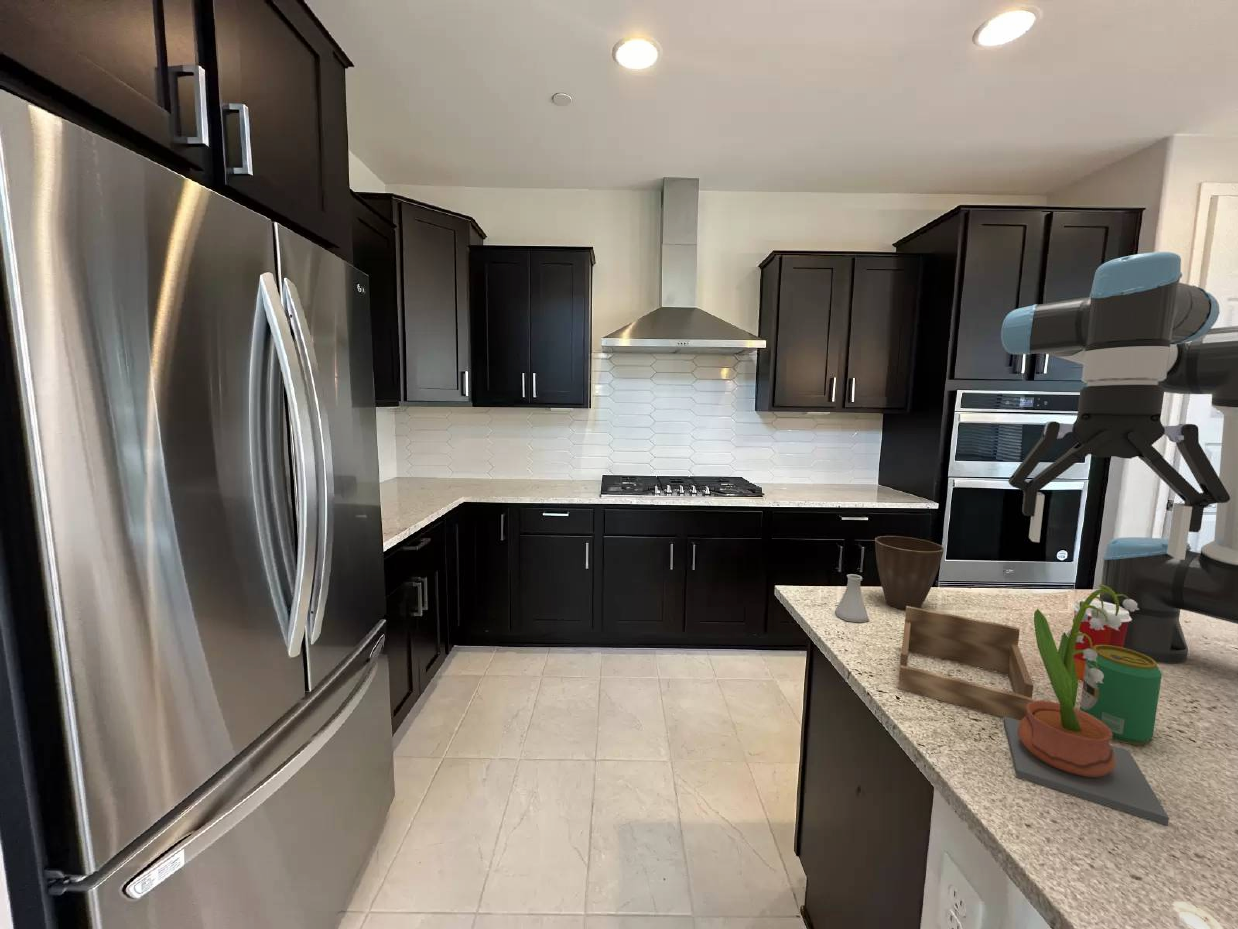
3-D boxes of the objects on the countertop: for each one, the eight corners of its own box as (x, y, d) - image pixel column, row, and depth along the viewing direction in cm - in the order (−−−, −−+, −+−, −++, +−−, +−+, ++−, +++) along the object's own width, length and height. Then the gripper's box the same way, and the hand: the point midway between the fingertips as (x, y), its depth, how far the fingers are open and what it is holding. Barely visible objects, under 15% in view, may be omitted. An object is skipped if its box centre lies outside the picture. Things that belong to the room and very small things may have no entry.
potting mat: (1127, 756, 70) (1128, 750, 70) (1167, 825, 58) (1168, 818, 58) (1003, 722, 77) (1003, 716, 77) (1016, 777, 65) (1017, 770, 65)
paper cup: (1106, 672, 93) (1115, 601, 91) (1133, 694, 85) (1143, 617, 84) (1055, 665, 95) (1063, 595, 94) (1077, 685, 88) (1086, 610, 86)
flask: (829, 611, 120) (831, 571, 118) (857, 610, 120) (860, 571, 119) (844, 623, 112) (848, 581, 111) (875, 623, 113) (878, 581, 112)
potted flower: (1080, 735, 72) (1101, 571, 70) (1152, 787, 62) (1180, 598, 60) (998, 732, 73) (1016, 569, 70) (1056, 783, 63) (1080, 595, 60)
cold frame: (1013, 674, 92) (1018, 627, 91) (1030, 724, 76) (1036, 670, 75) (902, 647, 101) (906, 605, 100) (897, 688, 86) (902, 639, 85)
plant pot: (881, 589, 135) (886, 532, 133) (945, 605, 124) (950, 544, 123) (861, 603, 124) (866, 542, 123) (929, 622, 114) (935, 555, 112)
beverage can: (1072, 707, 81) (1080, 638, 80) (1139, 724, 77) (1149, 651, 76) (1087, 734, 74) (1097, 659, 73) (1162, 754, 70) (1173, 674, 69)
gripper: (1255, 384, 59) (1228, 556, 61) (994, 387, 72) (981, 528, 74) (1294, 380, 52) (1263, 573, 55) (1001, 384, 66) (986, 539, 68)
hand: (1100, 548), depth 65 cm, fingers open, 13 cm apart
